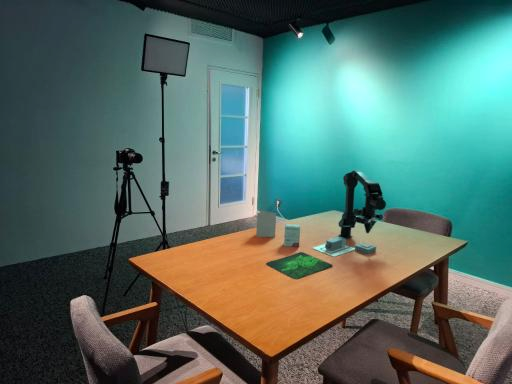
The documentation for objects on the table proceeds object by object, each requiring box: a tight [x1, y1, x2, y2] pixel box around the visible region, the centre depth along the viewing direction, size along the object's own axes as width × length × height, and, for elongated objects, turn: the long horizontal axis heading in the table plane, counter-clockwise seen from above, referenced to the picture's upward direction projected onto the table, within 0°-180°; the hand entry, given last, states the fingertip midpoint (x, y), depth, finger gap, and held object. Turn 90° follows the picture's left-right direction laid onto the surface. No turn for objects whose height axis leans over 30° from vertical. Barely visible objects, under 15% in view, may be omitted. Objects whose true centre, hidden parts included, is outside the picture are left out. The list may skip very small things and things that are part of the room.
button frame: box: [354, 242, 377, 256], centre depth 191 cm, size 8×8×3 cm
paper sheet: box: [312, 243, 355, 258], centre depth 192 cm, size 20×15×1 cm
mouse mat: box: [265, 251, 333, 280], centre depth 169 cm, size 27×22×1 cm
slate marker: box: [325, 236, 347, 251], centre depth 192 cm, size 14×4×5 cm, turn 129°
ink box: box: [283, 223, 301, 248], centre depth 195 cm, size 9×5×12 cm, turn 84°
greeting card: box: [255, 210, 277, 238], centre depth 207 cm, size 11×7×15 cm, turn 58°
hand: (367, 233), depth 189 cm, fingers closed
